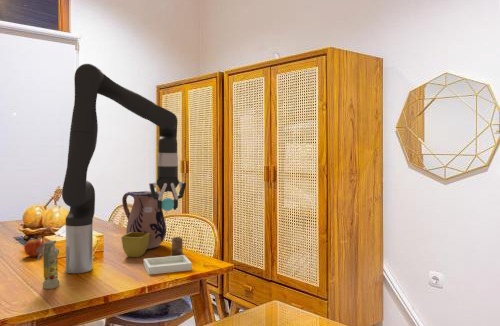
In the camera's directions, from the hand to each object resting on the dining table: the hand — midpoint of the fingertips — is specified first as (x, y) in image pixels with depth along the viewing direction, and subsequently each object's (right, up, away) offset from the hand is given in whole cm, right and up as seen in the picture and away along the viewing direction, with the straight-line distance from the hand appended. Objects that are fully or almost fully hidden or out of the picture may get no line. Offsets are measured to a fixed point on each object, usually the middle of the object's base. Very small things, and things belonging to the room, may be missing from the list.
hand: (167, 209), depth 159 cm
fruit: (-58, -21, +14) cm, 63 cm away
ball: (0, +2, 0) cm, 2 cm away
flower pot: (-17, -21, +17) cm, 32 cm away
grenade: (-35, -23, -22) cm, 47 cm away
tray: (0, -22, +1) cm, 22 cm away
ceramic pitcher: (-18, -21, +32) cm, 42 cm away
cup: (+1, -22, +17) cm, 27 cm away
